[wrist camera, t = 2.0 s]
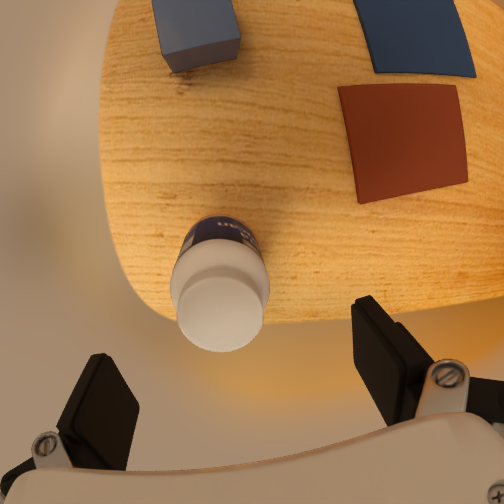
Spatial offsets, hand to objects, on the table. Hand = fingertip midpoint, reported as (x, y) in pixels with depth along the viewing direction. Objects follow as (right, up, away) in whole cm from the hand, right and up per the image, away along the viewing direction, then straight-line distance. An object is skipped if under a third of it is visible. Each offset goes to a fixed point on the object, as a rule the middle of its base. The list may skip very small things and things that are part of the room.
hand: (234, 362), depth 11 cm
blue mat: (+15, +23, +7) cm, 29 cm away
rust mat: (+14, +13, +11) cm, 22 cm away
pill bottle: (-2, +4, +12) cm, 13 cm away
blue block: (-3, +19, +7) cm, 20 cm away
